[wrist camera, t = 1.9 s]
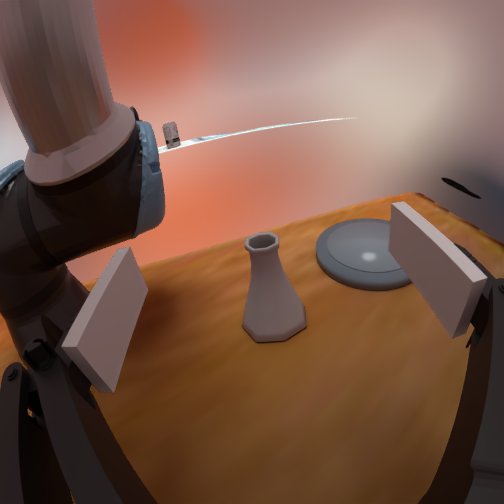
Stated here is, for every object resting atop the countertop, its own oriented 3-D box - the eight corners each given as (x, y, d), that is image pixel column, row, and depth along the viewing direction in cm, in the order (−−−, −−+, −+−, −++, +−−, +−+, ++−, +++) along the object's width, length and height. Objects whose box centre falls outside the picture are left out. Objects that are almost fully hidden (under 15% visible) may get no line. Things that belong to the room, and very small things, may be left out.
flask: (317, 331, 28) (315, 249, 23) (250, 352, 27) (229, 272, 22) (293, 290, 34) (286, 215, 29) (236, 307, 34) (216, 233, 28)
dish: (334, 301, 31) (334, 290, 31) (306, 235, 45) (305, 225, 44) (445, 276, 31) (448, 265, 30) (394, 221, 44) (395, 212, 44)
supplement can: (167, 148, 159) (161, 124, 151) (180, 144, 161) (175, 121, 153) (167, 149, 152) (162, 125, 145) (181, 145, 154) (176, 121, 146)
